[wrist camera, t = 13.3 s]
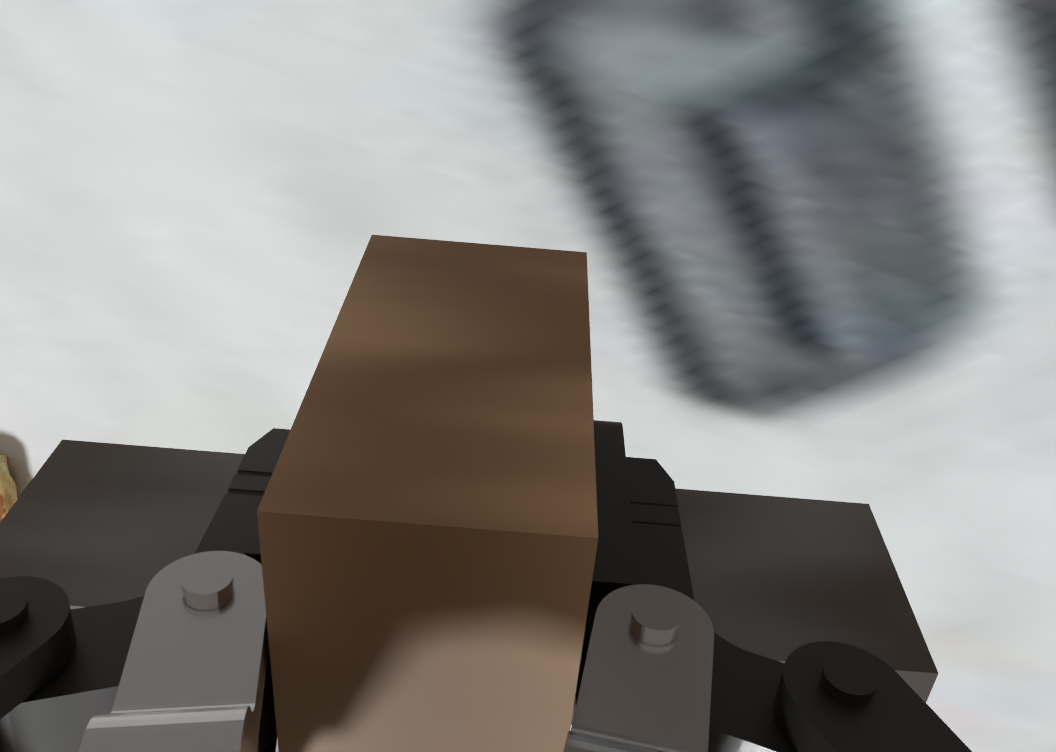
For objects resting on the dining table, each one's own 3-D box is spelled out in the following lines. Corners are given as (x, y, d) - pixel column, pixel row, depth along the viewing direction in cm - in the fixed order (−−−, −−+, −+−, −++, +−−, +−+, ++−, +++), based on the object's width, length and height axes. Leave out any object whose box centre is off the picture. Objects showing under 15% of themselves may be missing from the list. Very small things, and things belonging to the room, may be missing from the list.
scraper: (941, 281, 14) (1161, 581, 9) (850, 559, 17) (977, 912, 11) (11, 205, 14) (-320, 465, 9) (74, 497, 16) (-147, 828, 11)
